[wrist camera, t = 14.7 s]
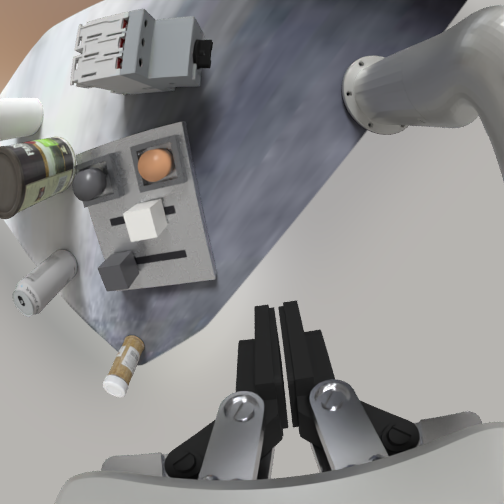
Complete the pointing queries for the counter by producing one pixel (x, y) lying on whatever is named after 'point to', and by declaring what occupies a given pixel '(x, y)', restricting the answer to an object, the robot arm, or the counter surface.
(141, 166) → the button orange
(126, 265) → the slider black
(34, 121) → the cylindrical container
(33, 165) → the coffee can
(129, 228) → the slider white
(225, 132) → the counter surface
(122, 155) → the panel
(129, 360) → the sprinkles bottle
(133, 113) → the counter surface
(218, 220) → the counter surface
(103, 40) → the circuit breaker
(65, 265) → the energy drink can
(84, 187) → the button black
